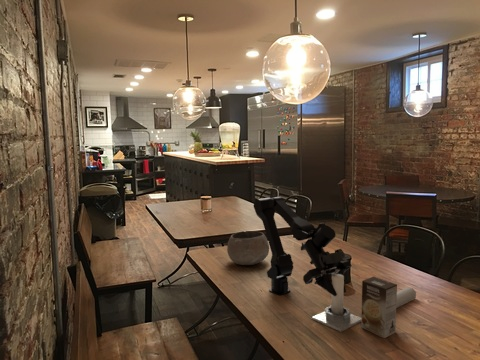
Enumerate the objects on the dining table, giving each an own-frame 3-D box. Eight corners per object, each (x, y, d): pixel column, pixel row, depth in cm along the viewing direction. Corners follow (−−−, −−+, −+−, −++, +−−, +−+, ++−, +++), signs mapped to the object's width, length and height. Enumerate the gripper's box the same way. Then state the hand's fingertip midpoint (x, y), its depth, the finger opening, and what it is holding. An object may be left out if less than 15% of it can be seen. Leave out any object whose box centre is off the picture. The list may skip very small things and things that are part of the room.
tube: (404, 285, 155) (367, 302, 139) (416, 284, 151) (380, 302, 135) (407, 299, 154) (371, 318, 138) (420, 299, 150) (384, 318, 134)
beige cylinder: (329, 313, 134) (330, 276, 133) (333, 309, 138) (333, 273, 136) (341, 316, 132) (342, 278, 131) (344, 311, 136) (345, 275, 134)
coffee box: (360, 327, 130) (360, 280, 128) (372, 322, 133) (373, 275, 131) (384, 338, 122) (385, 288, 120) (396, 332, 126) (398, 283, 124)
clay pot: (237, 273, 184) (237, 241, 182) (221, 260, 203) (220, 231, 201) (277, 266, 192) (277, 235, 191) (258, 255, 211) (257, 227, 210)
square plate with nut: (312, 319, 136) (312, 309, 136) (334, 309, 144) (334, 300, 143) (341, 332, 127) (341, 322, 126) (362, 320, 134) (363, 311, 134)
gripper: (309, 246, 131) (333, 289, 123) (348, 237, 141) (373, 276, 133) (293, 263, 138) (315, 304, 130) (331, 254, 148) (354, 292, 140)
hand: (340, 294), depth 133 cm, fingers closed on beige cylinder, 4 cm apart
